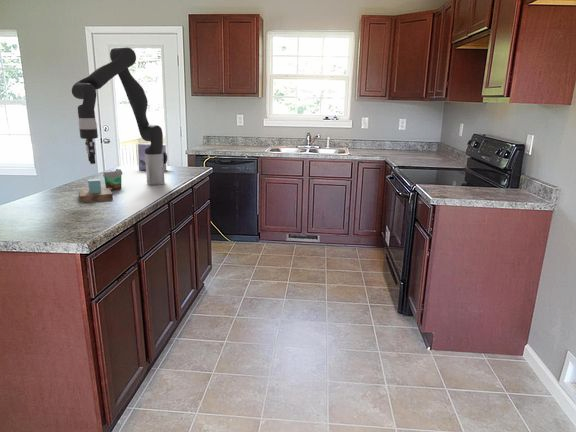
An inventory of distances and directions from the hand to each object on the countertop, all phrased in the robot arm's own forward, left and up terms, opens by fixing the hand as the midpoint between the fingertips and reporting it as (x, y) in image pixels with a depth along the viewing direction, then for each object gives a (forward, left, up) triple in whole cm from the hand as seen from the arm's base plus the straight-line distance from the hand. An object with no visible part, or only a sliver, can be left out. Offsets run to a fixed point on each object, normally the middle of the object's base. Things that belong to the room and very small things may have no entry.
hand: (92, 162), depth 200 cm
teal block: (0, 0, -14) cm, 14 cm away
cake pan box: (-43, -75, -18) cm, 89 cm away
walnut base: (0, 0, -18) cm, 18 cm away
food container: (-12, -18, -18) cm, 28 cm away
